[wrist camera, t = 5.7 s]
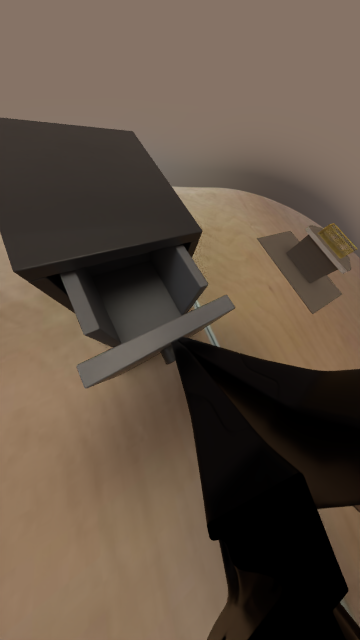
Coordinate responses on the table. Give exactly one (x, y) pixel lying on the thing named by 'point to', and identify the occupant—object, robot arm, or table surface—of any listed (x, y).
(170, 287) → the drawer
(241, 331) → the table surface
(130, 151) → the cabinet
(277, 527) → the robot arm
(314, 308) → the platform
